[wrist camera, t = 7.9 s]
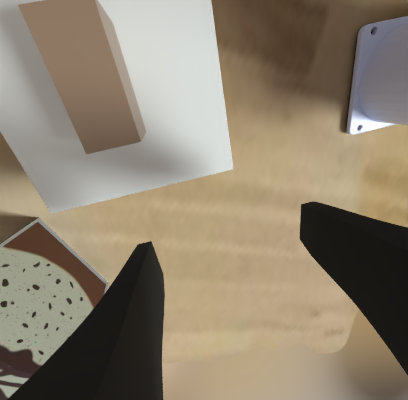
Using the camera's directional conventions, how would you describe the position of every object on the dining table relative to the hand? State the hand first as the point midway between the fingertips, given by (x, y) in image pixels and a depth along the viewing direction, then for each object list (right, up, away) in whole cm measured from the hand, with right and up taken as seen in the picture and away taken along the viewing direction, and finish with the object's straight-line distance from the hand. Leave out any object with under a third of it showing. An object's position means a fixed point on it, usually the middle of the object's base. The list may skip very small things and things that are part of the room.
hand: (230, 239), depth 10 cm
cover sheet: (-6, +8, +2) cm, 10 cm away
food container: (-16, -5, +10) cm, 20 cm away
